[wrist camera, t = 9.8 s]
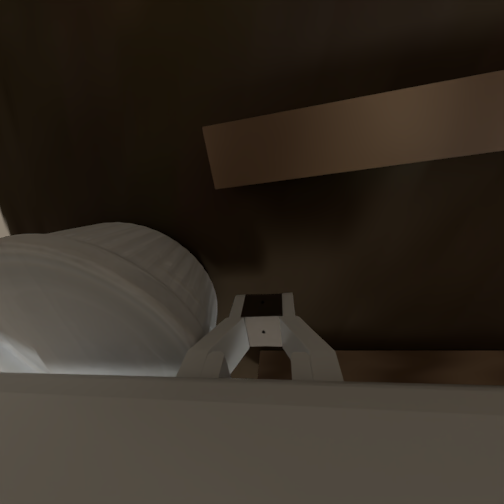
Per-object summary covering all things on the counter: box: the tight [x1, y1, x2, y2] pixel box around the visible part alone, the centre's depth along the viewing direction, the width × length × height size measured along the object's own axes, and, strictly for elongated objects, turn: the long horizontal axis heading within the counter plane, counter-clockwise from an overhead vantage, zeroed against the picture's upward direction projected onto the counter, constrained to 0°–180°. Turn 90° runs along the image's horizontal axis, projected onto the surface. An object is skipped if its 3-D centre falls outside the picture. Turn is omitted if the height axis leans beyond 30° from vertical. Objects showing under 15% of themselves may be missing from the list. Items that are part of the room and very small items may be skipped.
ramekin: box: [0, 222, 217, 377], centre depth 11 cm, size 11×11×5 cm
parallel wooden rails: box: [202, 70, 504, 386], centre depth 10 cm, size 18×16×2 cm
